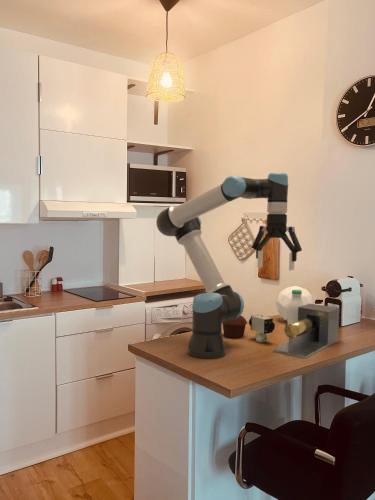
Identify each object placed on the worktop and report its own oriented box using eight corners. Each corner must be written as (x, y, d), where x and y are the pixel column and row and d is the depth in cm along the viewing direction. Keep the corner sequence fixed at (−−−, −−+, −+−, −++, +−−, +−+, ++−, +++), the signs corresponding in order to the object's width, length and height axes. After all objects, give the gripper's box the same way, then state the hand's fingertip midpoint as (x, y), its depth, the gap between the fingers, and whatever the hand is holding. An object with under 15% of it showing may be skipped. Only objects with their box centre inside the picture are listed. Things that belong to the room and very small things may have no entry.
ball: (298, 337, 228) (296, 311, 216) (269, 317, 242) (267, 291, 229) (322, 316, 235) (322, 290, 223) (293, 298, 249) (292, 272, 236)
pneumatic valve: (267, 345, 188) (267, 317, 188) (248, 339, 198) (248, 312, 197) (276, 343, 192) (276, 316, 191) (257, 337, 201) (257, 311, 200)
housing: (273, 351, 180) (274, 315, 179) (308, 335, 206) (309, 303, 205) (305, 358, 171) (306, 320, 170) (338, 340, 198) (339, 307, 196)
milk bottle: (303, 333, 209) (304, 291, 207) (286, 332, 211) (287, 290, 210) (304, 330, 216) (305, 289, 215) (288, 328, 219) (289, 288, 217)
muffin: (218, 337, 200) (218, 315, 199) (224, 331, 210) (224, 311, 209) (244, 340, 196) (244, 318, 195) (249, 334, 206) (249, 313, 206)
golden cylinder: (284, 336, 178) (284, 322, 178) (300, 329, 190) (300, 316, 189) (297, 339, 174) (297, 325, 174) (313, 332, 186) (313, 318, 185)
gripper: (312, 214, 165) (309, 270, 166) (253, 213, 180) (252, 265, 182) (303, 213, 159) (301, 272, 160) (244, 213, 175) (242, 266, 176)
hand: (275, 268), depth 171 cm, fingers open, 13 cm apart
